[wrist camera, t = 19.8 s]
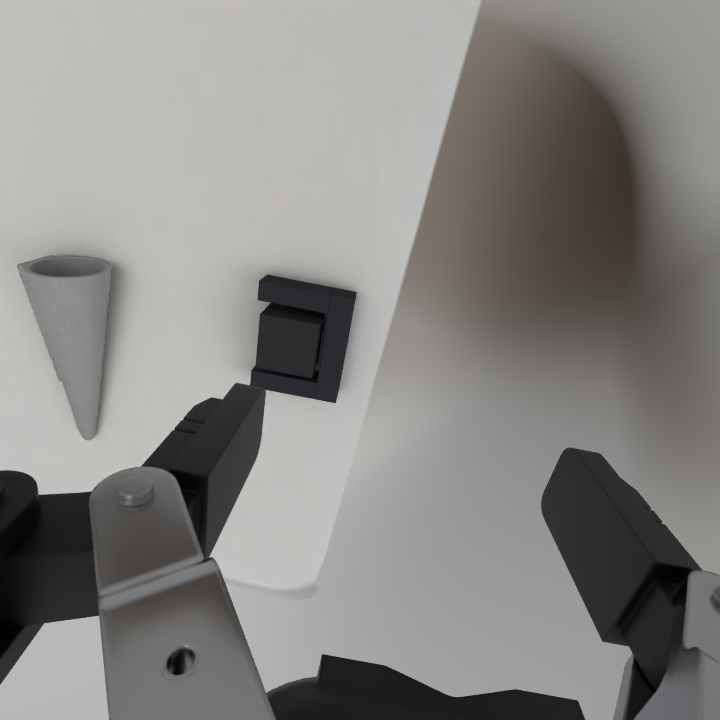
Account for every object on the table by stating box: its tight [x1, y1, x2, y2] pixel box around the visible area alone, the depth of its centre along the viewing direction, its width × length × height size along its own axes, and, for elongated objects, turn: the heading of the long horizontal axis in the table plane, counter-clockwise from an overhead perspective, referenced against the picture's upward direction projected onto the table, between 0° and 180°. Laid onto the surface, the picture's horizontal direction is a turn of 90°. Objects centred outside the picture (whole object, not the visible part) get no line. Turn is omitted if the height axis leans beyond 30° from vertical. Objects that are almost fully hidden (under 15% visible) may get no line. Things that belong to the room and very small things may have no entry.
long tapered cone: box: [17, 255, 112, 440], centre depth 38 cm, size 6×6×19 cm
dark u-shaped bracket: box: [250, 275, 356, 403], centre depth 37 cm, size 10×8×2 cm
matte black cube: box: [256, 303, 325, 378], centre depth 36 cm, size 5×5×4 cm
